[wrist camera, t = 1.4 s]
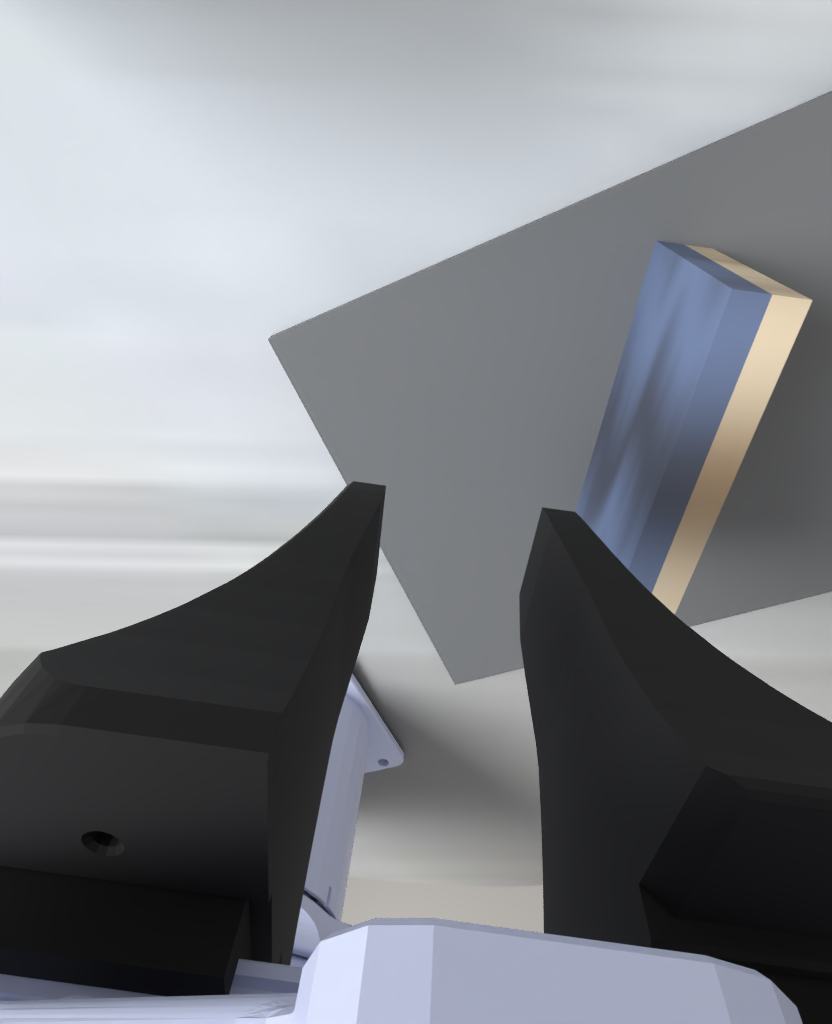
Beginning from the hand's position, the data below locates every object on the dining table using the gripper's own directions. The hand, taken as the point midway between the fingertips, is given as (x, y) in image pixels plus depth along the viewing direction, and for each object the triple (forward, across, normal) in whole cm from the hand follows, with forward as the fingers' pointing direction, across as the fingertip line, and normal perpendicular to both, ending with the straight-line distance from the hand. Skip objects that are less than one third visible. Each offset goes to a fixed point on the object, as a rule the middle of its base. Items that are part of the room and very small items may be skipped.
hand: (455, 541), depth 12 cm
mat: (+10, -7, +2) cm, 12 cm away
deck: (+10, -6, 0) cm, 11 cm away
